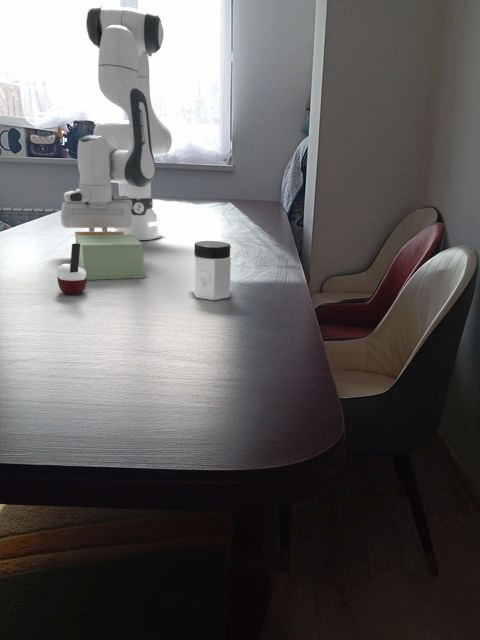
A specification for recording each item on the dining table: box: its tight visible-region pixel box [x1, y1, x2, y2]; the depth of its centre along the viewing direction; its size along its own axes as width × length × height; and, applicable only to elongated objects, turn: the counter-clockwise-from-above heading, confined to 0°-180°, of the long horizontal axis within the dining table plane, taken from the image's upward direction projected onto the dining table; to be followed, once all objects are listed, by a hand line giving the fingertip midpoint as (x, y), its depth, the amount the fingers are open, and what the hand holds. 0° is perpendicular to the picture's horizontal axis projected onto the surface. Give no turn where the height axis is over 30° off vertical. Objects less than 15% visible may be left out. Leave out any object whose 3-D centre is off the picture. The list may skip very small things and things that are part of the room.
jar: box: [193, 240, 232, 301], centre depth 118 cm, size 9×8×12 cm
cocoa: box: [56, 243, 88, 296], centre depth 113 cm, size 10×6×12 cm, turn 12°
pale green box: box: [76, 235, 145, 281], centre depth 134 cm, size 15×15×9 cm
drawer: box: [74, 231, 124, 244], centre depth 146 cm, size 18×13×7 cm
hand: (98, 242), depth 154 cm, fingers closed
